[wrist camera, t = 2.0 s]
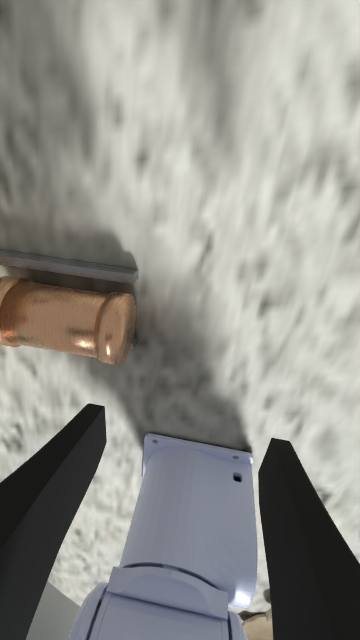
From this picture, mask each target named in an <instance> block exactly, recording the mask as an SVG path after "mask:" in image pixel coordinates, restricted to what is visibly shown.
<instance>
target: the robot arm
mask: <svg viewBox="0 0 360 640" xmlns="http://www.w3.org/2000/svg"><path fill="white" fill-rule="evenodd" d="M106 442H107V440H106V423H105V406H100V405H95V404H90V403H89V404H87V405H86V406H85V407H84V408H83V409H82V410H81V411H80V412H79V413H78V414H77V415H76V416H75V417H74V418H73V419H72V420H71V421H70V422H69V423H68V424H67V425H66V426H65V427H64V428H63V429H62V430H61V431H60V432H59V433H58V434H56V435H55V436H54V437H53V438H52V439H51V440H50V441H49V442H48V443H47V444H46V445H44V446H43V447H42V448H41V449H40V450H39V451H38V452H37V453H36V454H34V455H33V456H32V457H31V458H30V459H29V460H27V461H26V462H25V463H24V464H23V465H21V466H20V467H19V468H18V469H17V470H16V471H14V472H13V473H12V474H11V475H9V476H8V477H7V478H6V479H4V480H3V481H2V482H1V483H0V640H25V639H26V637H27V634H28V631H29V628H30V625H31V623H32V620H33V617H34V614H35V612H36V609H37V606H38V604H39V601H40V598H41V595H42V593H43V590H44V588H45V585H46V582H47V580H48V577H49V575H50V572H51V569H52V567H53V564H54V562H55V559H56V556H57V554H58V551H59V549H60V547H61V544H62V542H63V540H64V538H65V535H66V533H67V531H68V529H69V527H70V525H71V523H72V521H73V519H74V516H75V514H76V512H77V510H78V508H79V506H80V504H81V502H82V500H83V498H84V496H85V493H86V491H87V489H88V487H89V485H90V483H91V481H92V479H93V477H94V474H95V472H96V470H97V468H98V465H99V462H100V459H101V457H102V454H103V451H104V448H105V445H106ZM252 462H253V455H252V454H251V453H249V452H244V451H239V450H233V449H228V448H223V447H218V446H213V445H208V444H202V443H197V442H192V441H187V440H182V439H177V438H172V437H166V436H161V435H156V434H151V433H148V434H146V435H145V438H144V454H143V476H142V484H141V488H140V492H139V495H138V499H137V503H136V506H135V510H134V514H133V517H132V521H131V525H130V528H129V532H128V536H127V539H126V543H125V547H124V551H123V554H122V558H121V562H120V565H119V567H113V569H112V573H111V576H110V580H109V583H105V582H101V583H99V584H98V585H97V586H96V587H95V589H93V590H92V591H91V592H90V593H89V594H88V595H87V597H86V598H85V600H84V602H83V604H82V606H81V608H80V610H79V612H78V615H77V617H76V620H75V622H74V625H73V628H72V631H71V633H70V636H69V639H68V640H248V637H247V634H246V631H245V629H244V627H243V625H242V624H241V622H240V619H239V617H238V615H237V614H236V613H235V612H231V611H228V606H229V607H237V608H244V609H245V608H249V607H250V606H251V604H252V601H253V597H254V593H255V587H256V579H257V531H256V518H255V504H254V491H253V478H252ZM258 480H259V506H260V515H261V523H262V531H263V538H264V546H265V553H266V561H267V569H268V576H269V585H270V595H271V609H272V628H273V640H360V564H359V562H358V560H357V559H356V557H355V556H354V554H353V553H352V551H351V550H350V548H349V546H348V545H347V543H346V542H345V540H344V538H343V537H342V535H341V534H340V532H339V530H338V529H337V527H336V525H335V524H334V522H333V520H332V519H331V517H330V515H329V514H328V512H327V510H326V508H325V507H324V505H323V503H322V501H321V500H320V498H319V496H318V494H317V492H316V491H315V489H314V487H313V485H312V483H311V481H310V480H309V478H308V476H307V474H306V472H305V470H304V468H303V466H302V464H301V462H300V460H299V458H298V456H297V454H296V452H295V450H294V448H293V446H292V444H291V443H290V441H286V440H281V439H275V438H272V439H271V441H270V444H269V446H268V449H267V451H266V454H265V456H264V459H263V462H262V464H261V467H260V469H259V472H258Z"/></svg>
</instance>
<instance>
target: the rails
mask: <svg viewBox="0 0 360 640" xmlns="http://www.w3.org/2000/svg"><path fill="white" fill-rule="evenodd" d="M0 264H1V265H8V266H15V267H21V268H28V269H35V270H41V271H48V272H55V273H62V274H68V275H75V276H82V277H89V278H95V279H102V280H109V281H116V282H122V283H129V284H134V283H135V281H136V280H137V279H138V269H132V268H125V267H118V266H111V265H104V264H97V263H90V262H83V261H77V260H70V259H63V258H56V257H49V256H42V255H35V254H28V253H21V252H14V251H7V250H0ZM136 343H137V336H134V337H133V341H132V345H131V348H130V350H131V351H133V349H134V347H135V345H136Z"/></svg>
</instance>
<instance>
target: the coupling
mask: <svg viewBox="0 0 360 640" xmlns="http://www.w3.org/2000/svg"><path fill="white" fill-rule="evenodd" d="M135 326H136V303H135V299H134V297H133V295H132V294H127V293H120V292H111V293H110V294H105V293H99V292H92V291H86V290H79V289H72V288H66V287H59V286H53V285H46V284H40V283H34V282H33V281H32V280H30V279H27V278H21V277H15V276H4V277H1V278H0V345H5V346H11V347H18V346H21V345H24V346H30V347H36V348H42V349H47V350H53V351H59V352H65V353H70V354H76V355H82V356H88V357H94V358H98V360H99V361H100V362H103V363H108V364H114V365H121V364H122V363H123V362H124V360H125V359H126V357H127V355H128V353H129V351H130V348H131V345H132V341H133V337H134V333H135Z"/></svg>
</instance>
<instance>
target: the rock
mask: <svg viewBox="0 0 360 640" xmlns="http://www.w3.org/2000/svg"><path fill="white" fill-rule="evenodd" d="M242 625H243V627H244V629H245V631H246V634H247V637H248V640H273V628H272V609H270V610H268V611H267V612H266V613H262V614H259V615H255V616H252V617H251V618H249V619H247V620H245V621H244V622H243V623H242Z"/></svg>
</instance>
